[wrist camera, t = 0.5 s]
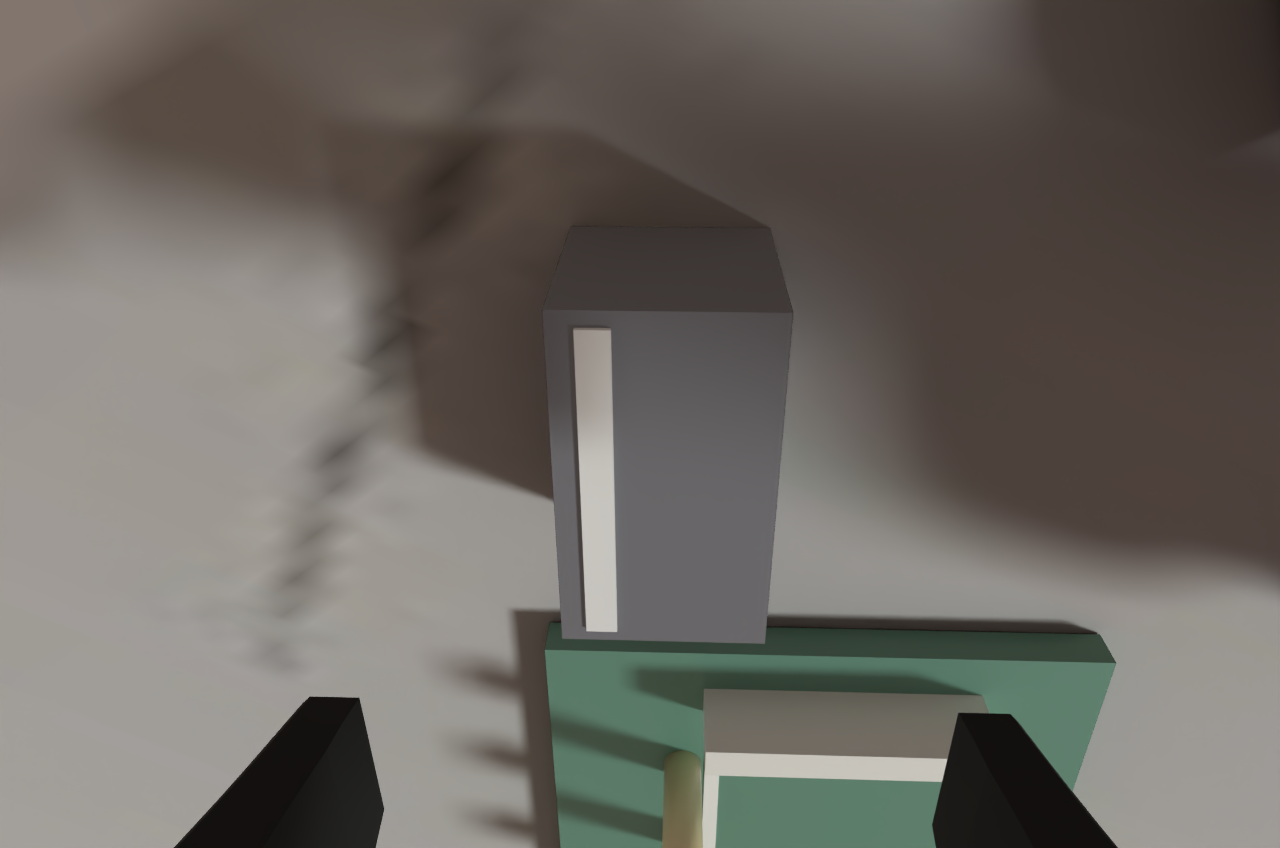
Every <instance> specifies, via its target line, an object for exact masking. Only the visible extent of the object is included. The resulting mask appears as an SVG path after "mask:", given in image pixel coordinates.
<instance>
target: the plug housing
mask: <svg viewBox="0 0 1280 848" xmlns="http://www.w3.org/2000/svg"><path fill="white" fill-rule="evenodd" d="M542 318H543V335H544V351H545V367H546V383H547V399H548V416H549V432H550V448H551V464H552V481H553V497H554V513H555V529H556V546H557V562H558V578H559V594H560V611H561V627H562V639H596V640H636V641H676V642H716V643H756V644H765V636H766V625H767V613H768V601H769V590H770V578H771V567H772V555H773V543H774V532H775V520H776V509H777V497H778V485H779V474H780V462H781V450H782V439H783V427H784V416H785V404H786V392H787V381H788V369H789V358H790V346H791V334H792V323H793V310H792V306H791V303H790V299H789V295H788V292H787V288H786V284H785V281H784V277H783V273H782V270H781V266H780V263H779V259H778V255H777V252H776V248H775V244H774V241H773V237H772V234H771V230H770V228H715V227H598V226H571V227H570V230H569V233H568V236H567V239H566V242H565V245H564V248H563V251H562V253H561V256H560V259H559V262H558V265H557V268H556V271H555V274H554V277H553V279H552V282H551V285H550V288H549V291H548V294H547V297H546V300H545V303H544V306H543V308H542Z"/></svg>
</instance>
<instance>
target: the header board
mask: <svg viewBox="0 0 1280 848" xmlns="http://www.w3.org/2000/svg"><path fill="white" fill-rule="evenodd" d="M545 659H546V672H547V685H548V697H549V710H550V722H551V735H552V747H553V760H554V772H555V785H556V797H557V810H558V823H559V835H560V848H936V845H935V839H934V834H933V828H932V823H933V818H934V814H935V810H936V806H937V801H938V797H939V793H940V788H941V784H942V780H943V776H944V771H945V767H946V763H947V759H948V754H949V750H950V746H951V742H952V737H953V733H954V729H955V725H956V720H957V716H958V713H996V714H1011V715H1012V716H1013V717H1014V718H1015V719H1016V720H1017V721H1018V722H1019V724H1020V725H1021V726H1022V727H1023V729H1024V730H1025V731H1026V733H1027V734H1028V735H1029V737H1030V738H1031V739H1032V740H1033V742H1034V743H1035V744H1036V746H1037V747H1038V748H1039V750H1040V751H1041V752H1042V753H1043V755H1044V756H1045V757H1046V759H1047V760H1048V761H1049V762H1050V764H1051V765H1052V766H1053V768H1054V769H1055V770H1056V771H1057V773H1058V774H1059V775H1060V777H1061V778H1062V779H1063V780H1064V782H1065V783H1066V784H1067V786H1068V787H1069V788H1070V789H1071V791H1073V788H1074V785H1075V782H1076V779H1077V776H1078V773H1079V770H1080V767H1081V765H1082V762H1083V759H1084V756H1085V753H1086V750H1087V747H1088V744H1089V741H1090V738H1091V735H1092V732H1093V730H1094V727H1095V724H1096V721H1097V718H1098V715H1099V712H1100V709H1101V706H1102V703H1103V700H1104V698H1105V695H1106V692H1107V689H1108V686H1109V683H1110V680H1111V677H1112V674H1113V671H1114V668H1115V665H1116V662H1115V660H1114V658H1113V657H1112V655H1111V653H1110V651H1109V650H1108V648H1107V646H1106V644H1105V643H1104V641H1103V639H1102V637H1101V636H1100V635H1099V634H1053V633H1008V632H962V631H917V630H871V629H826V628H780V627H766V636H765V644H756V643H716V642H676V641H636V640H596V639H562V627H561V623H553V622H550V624H549V629H548V635H547V640H546V646H545Z"/></svg>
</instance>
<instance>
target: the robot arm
mask: <svg viewBox="0 0 1280 848" xmlns="http://www.w3.org/2000/svg"><path fill="white" fill-rule="evenodd" d="M383 812H384V806H383V802H382V797H381V793H380V788H379V784H378V779H377V775H376V771H375V766H374V762H373V757H372V753H371V748H370V744H369V739H368V735H367V730H366V726H365V721H364V717H363V713H362V708H361V704H360V699H359V698H345V697H309V698H308V699H307V700H306V701H305V702H304V703H303V704H302V705H301V706H300V707H299V708H298V709H297V710H296V712H295V713H294V714H293V715H292V716H291V717H290V718H289V720H288V721H287V722H286V723H285V724H284V725H283V726H282V728H281V729H280V730H279V731H278V732H277V733H276V735H275V736H274V737H273V738H272V739H271V740H270V742H269V743H268V744H267V745H266V746H265V747H264V748H263V750H262V751H261V752H260V753H259V754H258V755H257V757H256V758H255V759H254V760H253V761H252V762H251V763H250V765H249V766H248V767H247V768H246V769H245V770H244V771H243V772H242V774H241V775H240V776H239V777H238V778H237V779H236V780H235V781H234V783H233V784H232V785H231V786H230V787H229V788H228V789H227V790H226V792H225V793H224V794H223V795H222V796H221V797H220V798H219V799H218V801H217V802H216V803H215V804H214V805H213V806H212V807H211V808H210V809H209V810H208V811H207V812H206V814H205V815H204V816H203V817H202V818H201V819H200V820H199V821H198V822H197V823H196V824H195V825H194V827H193V828H192V829H191V830H190V831H189V832H188V833H187V834H186V835H185V836H184V837H183V838H182V840H181V841H180V842H179V843H178V844H177V845H176V846H175V847H174V848H376V843H377V839H378V834H379V830H380V825H381V821H382V816H383ZM932 828H933V834H934V839H935V845H936V848H1118V847H1117V846H1116V845H1115V844H1114V843H1113V841H1112V840H1111V839H1110V838H1109V836H1108V835H1107V834H1106V833H1105V832H1104V830H1103V829H1102V828H1101V827H1100V826H1099V824H1098V823H1097V822H1096V821H1095V819H1094V818H1093V817H1092V816H1091V814H1090V813H1089V812H1088V811H1087V809H1086V808H1085V807H1084V806H1083V804H1082V803H1081V802H1080V801H1079V799H1078V798H1077V797H1076V796H1075V794H1074V793H1073V792H1072V791H1071V789H1070V788H1069V787H1068V786H1067V784H1066V783H1065V782H1064V780H1063V779H1062V778H1061V777H1060V775H1059V774H1058V773H1057V771H1056V770H1055V769H1054V768H1053V766H1052V765H1051V764H1050V762H1049V761H1048V760H1047V759H1046V757H1045V756H1044V755H1043V753H1042V752H1041V751H1040V750H1039V748H1038V747H1037V746H1036V744H1035V743H1034V742H1033V740H1032V739H1031V738H1030V737H1029V735H1028V734H1027V733H1026V731H1025V730H1024V729H1023V727H1022V726H1021V725H1020V724H1019V722H1018V721H1017V720H1016V719H1015V718H1014V717H1013V716H1012V715H1011V714H996V713H958V716H957V720H956V725H955V729H954V733H953V737H952V742H951V746H950V750H949V754H948V759H947V763H946V767H945V771H944V776H943V780H942V784H941V788H940V793H939V797H938V801H937V806H936V810H935V814H934V818H933V823H932Z"/></svg>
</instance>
